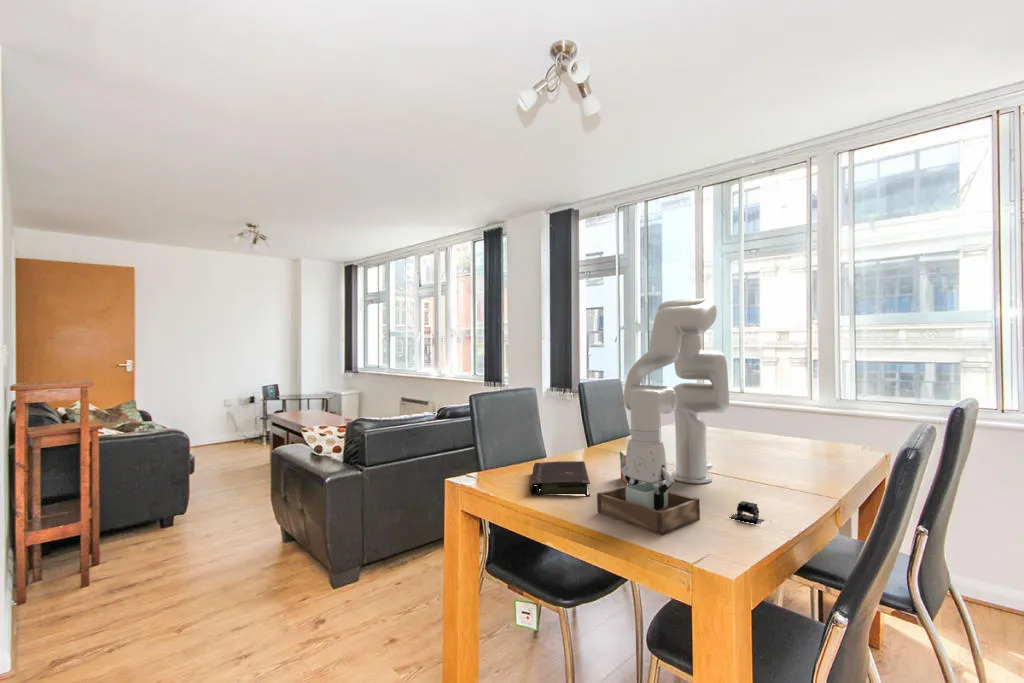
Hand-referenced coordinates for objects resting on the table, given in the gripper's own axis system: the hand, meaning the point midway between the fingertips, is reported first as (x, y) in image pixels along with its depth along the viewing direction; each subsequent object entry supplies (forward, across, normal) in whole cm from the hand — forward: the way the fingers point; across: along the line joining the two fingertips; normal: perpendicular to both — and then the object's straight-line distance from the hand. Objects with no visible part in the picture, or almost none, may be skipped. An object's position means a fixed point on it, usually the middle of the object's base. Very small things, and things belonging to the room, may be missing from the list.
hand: (647, 504), depth 124 cm
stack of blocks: (+3, -18, +20) cm, 26 cm away
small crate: (+1, 0, 0) cm, 1 cm away
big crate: (+3, 0, 0) cm, 3 cm away
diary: (+4, -36, +3) cm, 36 cm away
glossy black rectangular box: (+4, +18, +17) cm, 25 cm away
